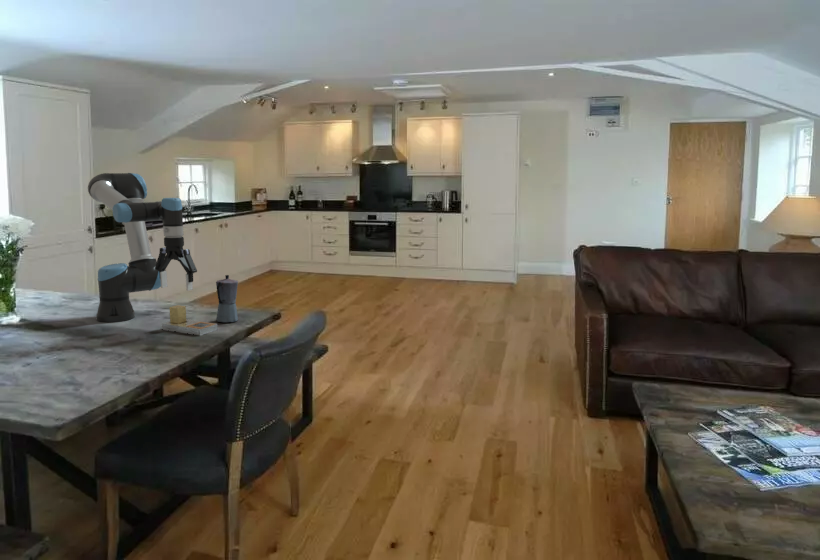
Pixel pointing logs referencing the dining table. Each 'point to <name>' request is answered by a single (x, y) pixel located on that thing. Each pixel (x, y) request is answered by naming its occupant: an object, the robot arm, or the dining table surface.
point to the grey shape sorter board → (191, 327)
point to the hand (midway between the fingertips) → (176, 288)
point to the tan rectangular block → (177, 314)
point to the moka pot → (227, 300)
